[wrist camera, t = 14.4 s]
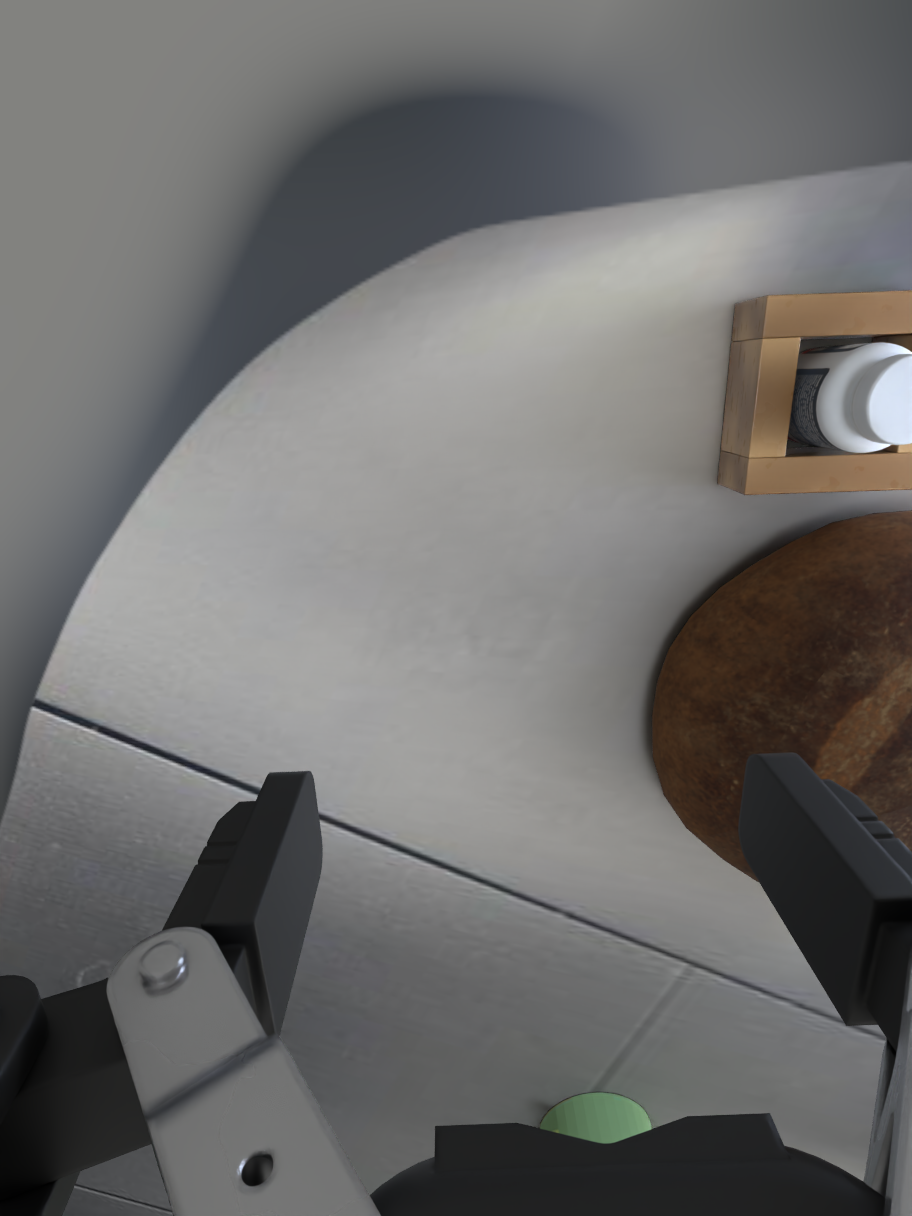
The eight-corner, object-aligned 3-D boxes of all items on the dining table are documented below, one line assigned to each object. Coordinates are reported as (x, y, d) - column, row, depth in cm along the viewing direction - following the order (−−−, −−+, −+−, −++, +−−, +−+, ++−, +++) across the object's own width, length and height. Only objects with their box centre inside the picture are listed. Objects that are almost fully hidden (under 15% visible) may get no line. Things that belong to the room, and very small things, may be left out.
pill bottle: (795, 461, 40) (887, 484, 31) (746, 393, 38) (828, 398, 30) (872, 398, 38) (990, 405, 30) (824, 326, 37) (933, 312, 29)
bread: (1161, 606, 43) (1330, 661, 35) (904, 909, 51) (992, 1012, 43) (791, 422, 39) (883, 435, 31) (578, 784, 47) (605, 870, 39)
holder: (734, 303, 37) (767, 294, 33) (914, 297, 37) (968, 288, 33) (716, 483, 40) (744, 495, 36) (881, 478, 40) (926, 489, 36)
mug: (677, 1123, 59) (730, 1301, 48) (596, 1182, 62) (628, 1364, 50) (574, 1060, 56) (605, 1232, 45) (494, 1124, 59) (504, 1302, 48)
